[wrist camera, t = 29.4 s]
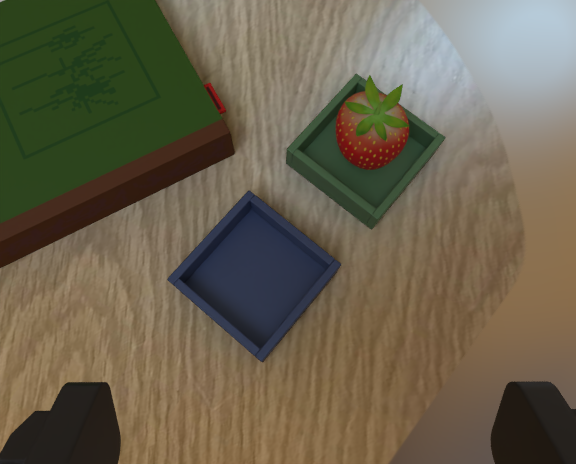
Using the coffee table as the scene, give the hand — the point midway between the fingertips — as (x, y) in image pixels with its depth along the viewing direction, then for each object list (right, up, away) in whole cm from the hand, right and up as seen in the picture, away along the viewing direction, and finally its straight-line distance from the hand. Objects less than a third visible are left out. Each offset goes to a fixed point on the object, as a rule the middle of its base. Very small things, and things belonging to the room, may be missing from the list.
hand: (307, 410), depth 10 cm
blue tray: (-3, 0, +27) cm, 27 cm away
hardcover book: (-20, +12, +30) cm, 38 cm away
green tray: (+6, +10, +29) cm, 32 cm away
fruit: (+5, +10, +29) cm, 31 cm away
